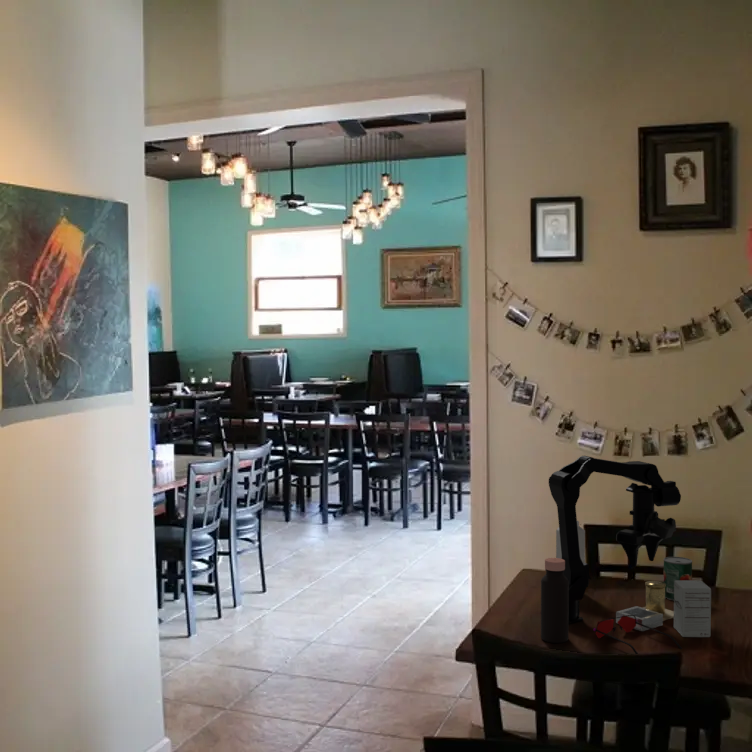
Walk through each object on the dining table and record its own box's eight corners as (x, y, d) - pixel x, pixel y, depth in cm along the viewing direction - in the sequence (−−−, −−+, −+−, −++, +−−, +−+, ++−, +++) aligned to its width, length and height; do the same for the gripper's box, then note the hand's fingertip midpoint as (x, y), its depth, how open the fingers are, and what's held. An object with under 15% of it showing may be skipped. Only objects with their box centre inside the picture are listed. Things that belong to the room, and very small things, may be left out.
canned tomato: (662, 592, 266) (663, 555, 266) (690, 594, 264) (691, 557, 264) (663, 600, 259) (664, 562, 258) (692, 602, 256) (693, 564, 256)
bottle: (568, 644, 222) (569, 564, 221) (540, 642, 224) (541, 563, 223) (567, 635, 229) (568, 557, 228) (540, 633, 230) (541, 556, 229)
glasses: (634, 630, 234) (634, 611, 233) (682, 650, 219) (683, 630, 219) (592, 639, 227) (592, 619, 227) (639, 660, 212) (639, 639, 212)
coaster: (658, 622, 239) (658, 620, 239) (628, 612, 247) (628, 611, 247) (682, 615, 245) (682, 613, 245) (651, 606, 253) (651, 604, 253)
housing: (642, 631, 232) (642, 619, 232) (615, 622, 238) (616, 611, 238) (662, 625, 237) (662, 613, 236) (636, 617, 243) (636, 606, 243)
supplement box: (672, 627, 234) (673, 579, 234) (701, 628, 234) (702, 579, 234) (681, 637, 227) (682, 587, 226) (711, 637, 227) (711, 587, 226)
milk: (568, 589, 270) (568, 516, 269) (585, 594, 265) (585, 519, 264) (555, 593, 266) (555, 519, 265) (572, 597, 261) (572, 522, 260)
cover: (657, 616, 242) (657, 587, 242) (640, 611, 247) (641, 582, 246) (669, 613, 245) (670, 584, 245) (653, 608, 250) (653, 579, 249)
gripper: (652, 516, 236) (652, 575, 237) (687, 507, 249) (686, 563, 250) (615, 510, 244) (614, 567, 245) (650, 501, 257) (649, 556, 258)
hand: (642, 563), depth 249 cm, fingers open, 9 cm apart
